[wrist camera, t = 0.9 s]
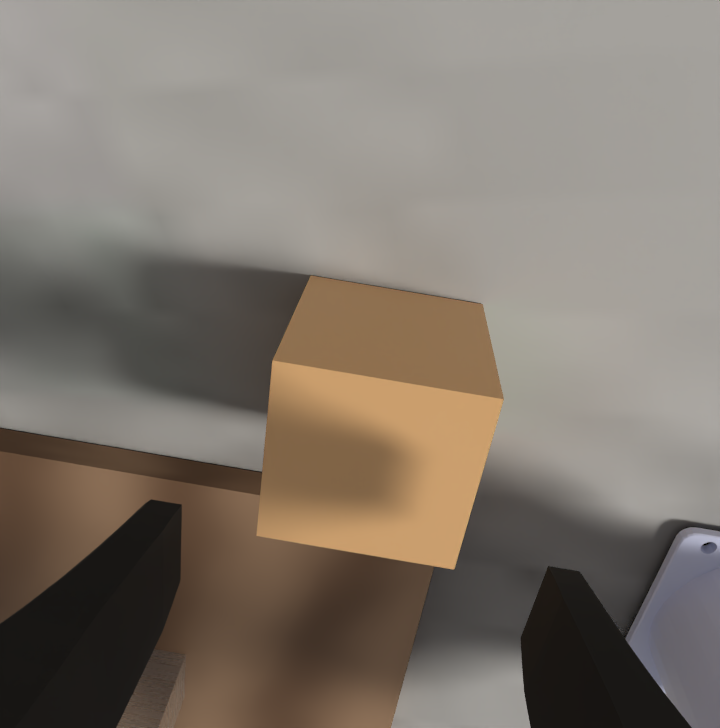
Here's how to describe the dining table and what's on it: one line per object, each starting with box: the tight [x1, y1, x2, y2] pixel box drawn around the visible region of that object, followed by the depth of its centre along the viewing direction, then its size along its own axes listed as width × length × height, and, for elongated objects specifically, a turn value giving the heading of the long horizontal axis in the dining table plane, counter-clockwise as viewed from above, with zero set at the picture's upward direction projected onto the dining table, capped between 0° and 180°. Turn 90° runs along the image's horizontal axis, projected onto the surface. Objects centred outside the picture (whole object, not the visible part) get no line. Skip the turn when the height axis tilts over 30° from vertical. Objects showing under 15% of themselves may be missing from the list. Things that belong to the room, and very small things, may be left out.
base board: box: [0, 428, 434, 728], centre depth 27 cm, size 20×20×1 cm
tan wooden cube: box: [256, 276, 504, 570], centre depth 18 cm, size 5×5×6 cm
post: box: [116, 649, 186, 728], centre depth 24 cm, size 3×3×5 cm
